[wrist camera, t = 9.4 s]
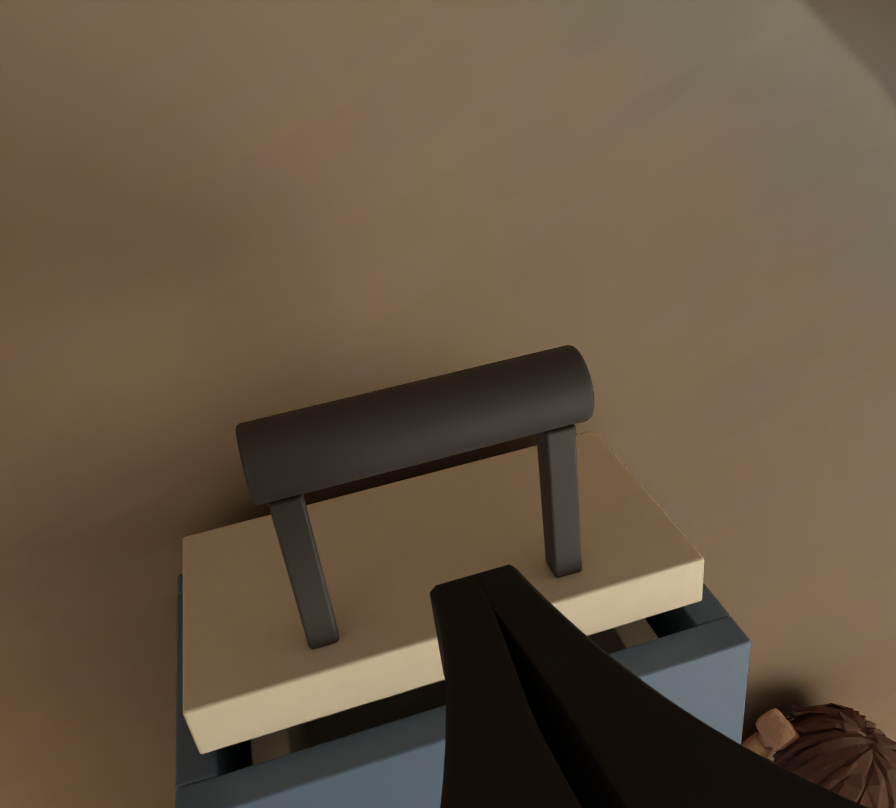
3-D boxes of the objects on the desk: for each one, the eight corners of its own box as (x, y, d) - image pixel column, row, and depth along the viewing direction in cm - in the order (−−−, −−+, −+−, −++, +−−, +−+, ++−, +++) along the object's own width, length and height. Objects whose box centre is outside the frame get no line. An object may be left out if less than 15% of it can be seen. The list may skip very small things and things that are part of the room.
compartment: (176, 573, 21) (174, 826, 15) (603, 459, 23) (752, 641, 17) (284, 862, 27) (313, 1120, 21) (610, 752, 29) (721, 959, 23)
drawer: (114, 349, 17) (90, 494, 12) (589, 246, 19) (717, 339, 14) (287, 830, 25) (310, 1021, 21) (604, 725, 27) (687, 880, 22)
